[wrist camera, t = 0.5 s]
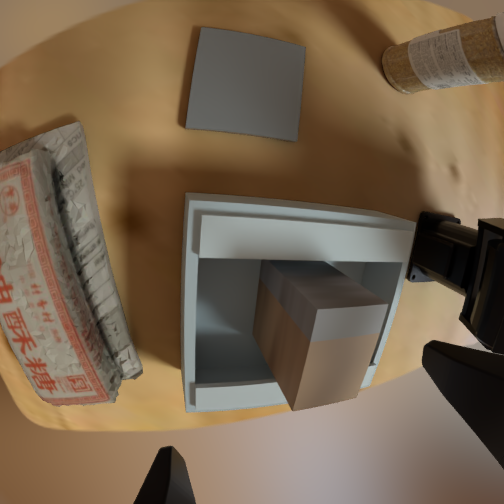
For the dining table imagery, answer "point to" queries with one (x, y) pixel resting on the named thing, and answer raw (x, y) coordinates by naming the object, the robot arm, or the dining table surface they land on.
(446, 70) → the sprinkles bottle
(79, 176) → the packaged product
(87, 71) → the dining table surface
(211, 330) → the grey open tray
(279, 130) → the coaster
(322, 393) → the block
